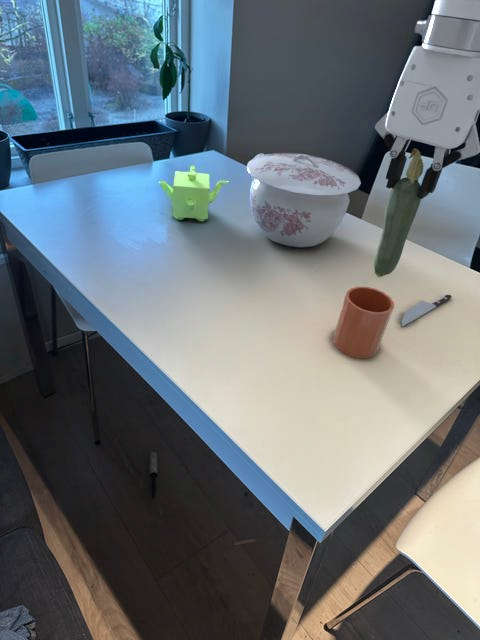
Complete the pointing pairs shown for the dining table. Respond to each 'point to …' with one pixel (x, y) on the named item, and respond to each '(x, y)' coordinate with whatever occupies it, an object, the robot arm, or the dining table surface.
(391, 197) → the vegetable
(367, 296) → the cup
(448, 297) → the chef's knife
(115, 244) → the dining table surface
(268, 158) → the chamber pot
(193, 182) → the kettle
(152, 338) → the dining table surface
